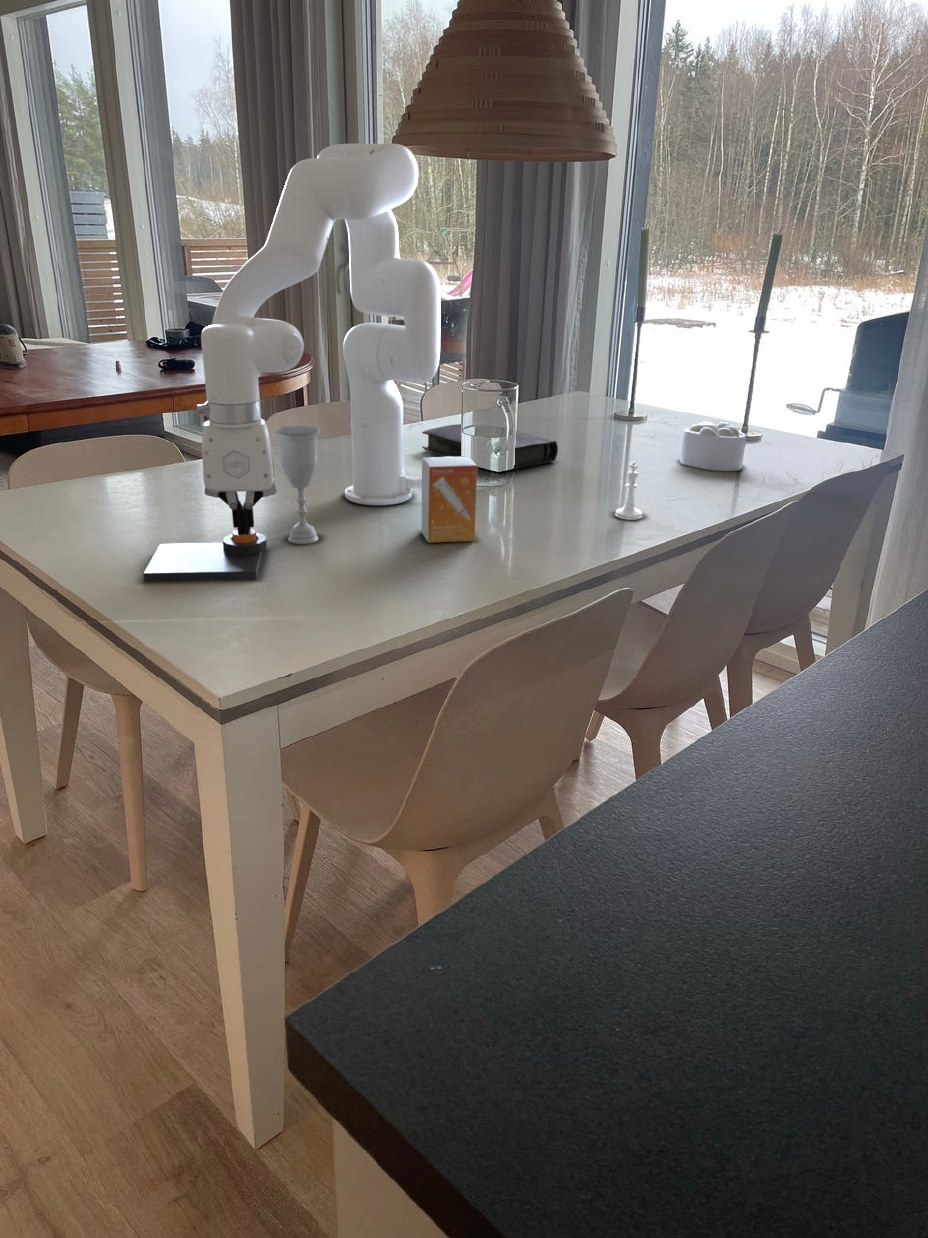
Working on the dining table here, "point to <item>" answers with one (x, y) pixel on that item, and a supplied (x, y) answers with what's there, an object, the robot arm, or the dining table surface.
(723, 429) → the lumpy-topped squat cylinder
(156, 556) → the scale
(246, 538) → the power button
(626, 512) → the chess piece
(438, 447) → the diary
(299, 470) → the chalice
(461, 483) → the small box
